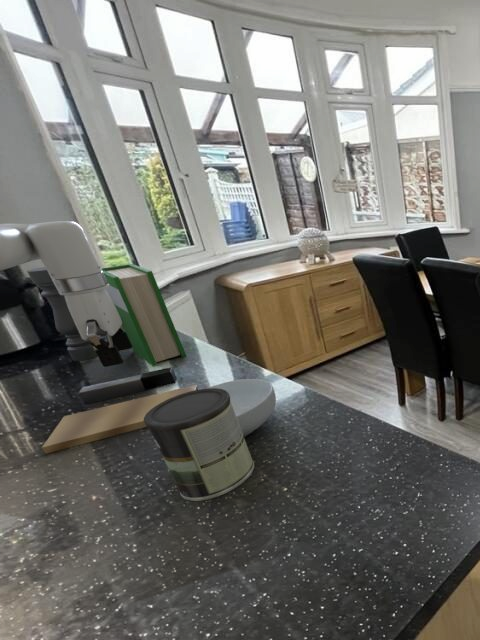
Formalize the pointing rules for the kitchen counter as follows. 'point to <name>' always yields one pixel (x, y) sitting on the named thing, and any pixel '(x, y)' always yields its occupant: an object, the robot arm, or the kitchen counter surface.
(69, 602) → the kitchen counter surface
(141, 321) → the hardback book
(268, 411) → the cereal bowl
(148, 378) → the grey bar black end
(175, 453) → the coffee can
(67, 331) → the candle holder
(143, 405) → the cutting board
